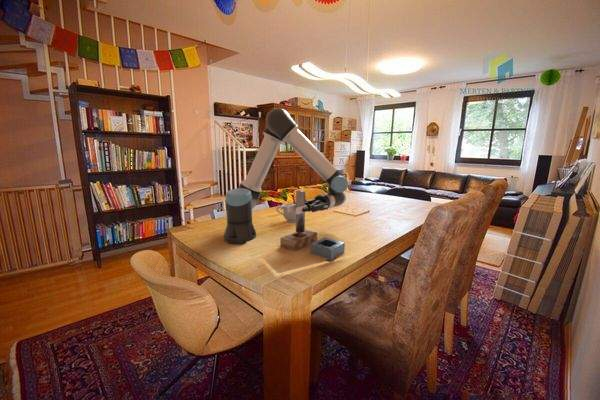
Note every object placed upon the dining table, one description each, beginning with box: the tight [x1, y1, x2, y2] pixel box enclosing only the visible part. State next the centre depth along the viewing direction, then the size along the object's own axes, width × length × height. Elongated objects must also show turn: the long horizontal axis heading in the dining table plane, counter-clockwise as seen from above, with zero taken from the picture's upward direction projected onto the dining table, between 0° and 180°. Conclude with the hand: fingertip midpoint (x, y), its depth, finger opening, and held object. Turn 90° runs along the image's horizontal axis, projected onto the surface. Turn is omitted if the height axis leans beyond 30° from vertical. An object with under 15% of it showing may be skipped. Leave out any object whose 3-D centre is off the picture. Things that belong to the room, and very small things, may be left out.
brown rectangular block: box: [279, 229, 318, 252], centre depth 114 cm, size 16×8×5 cm, turn 140°
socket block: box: [309, 236, 346, 263], centre depth 105 cm, size 10×10×5 cm
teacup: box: [276, 202, 296, 224], centre depth 151 cm, size 12×15×10 cm
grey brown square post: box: [295, 189, 306, 233], centre depth 112 cm, size 4×4×18 cm
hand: (292, 210), depth 107 cm, fingers closed on grey brown square post, 4 cm apart
